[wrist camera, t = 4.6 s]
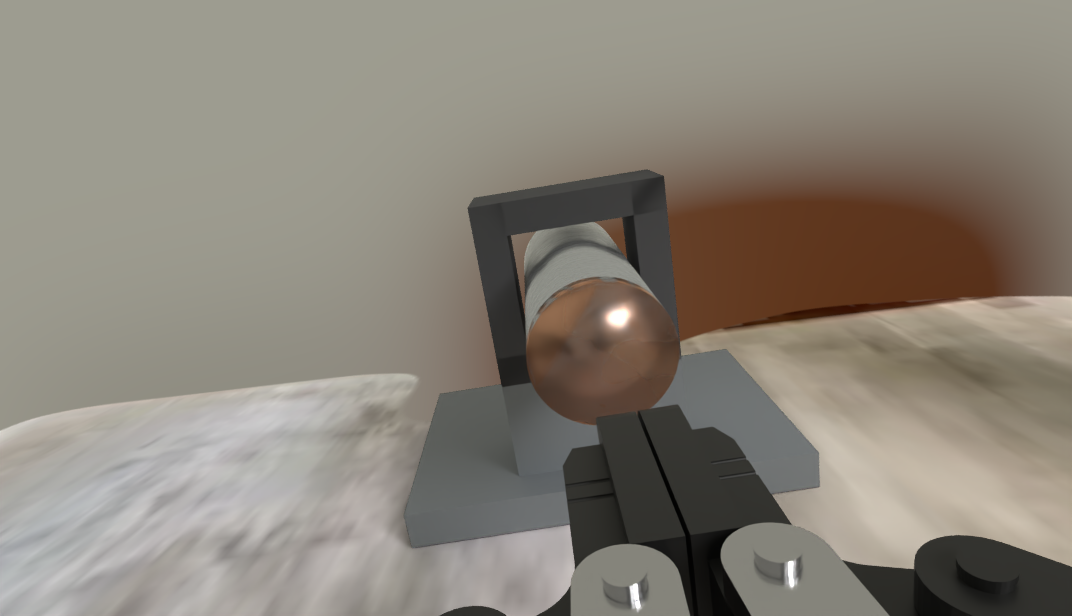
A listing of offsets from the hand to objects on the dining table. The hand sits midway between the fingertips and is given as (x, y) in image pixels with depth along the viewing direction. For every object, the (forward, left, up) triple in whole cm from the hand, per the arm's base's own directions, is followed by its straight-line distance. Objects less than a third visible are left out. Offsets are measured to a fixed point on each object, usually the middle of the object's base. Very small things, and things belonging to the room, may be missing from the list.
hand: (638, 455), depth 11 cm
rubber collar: (0, -13, -4) cm, 14 cm away
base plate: (0, -16, -9) cm, 18 cm away
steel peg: (0, -11, -2) cm, 11 cm away
